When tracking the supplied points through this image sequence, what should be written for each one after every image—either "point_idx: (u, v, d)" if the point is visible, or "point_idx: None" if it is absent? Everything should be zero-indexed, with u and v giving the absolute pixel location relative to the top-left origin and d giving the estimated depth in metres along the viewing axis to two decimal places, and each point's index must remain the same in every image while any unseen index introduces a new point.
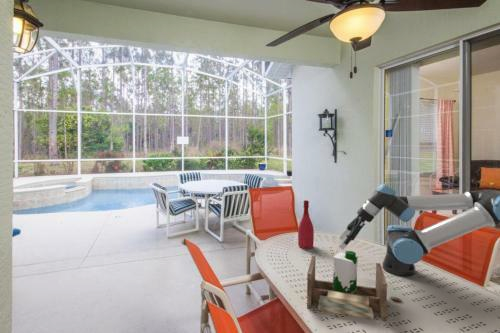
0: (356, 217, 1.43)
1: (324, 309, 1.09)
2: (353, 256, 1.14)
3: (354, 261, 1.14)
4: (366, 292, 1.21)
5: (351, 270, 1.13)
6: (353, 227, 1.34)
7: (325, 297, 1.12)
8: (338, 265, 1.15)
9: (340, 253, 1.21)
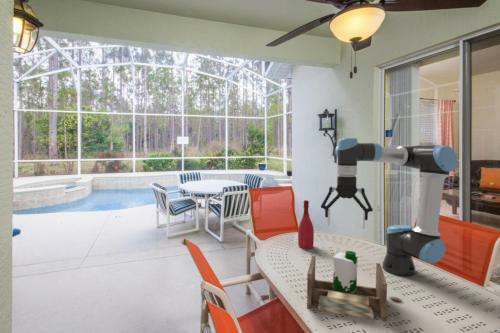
0: (331, 191, 1.17)
1: (324, 309, 1.09)
2: (353, 256, 1.14)
3: (354, 261, 1.14)
4: (366, 292, 1.21)
5: (351, 270, 1.13)
6: (357, 200, 1.14)
7: (325, 297, 1.12)
8: (338, 265, 1.15)
9: (340, 253, 1.21)
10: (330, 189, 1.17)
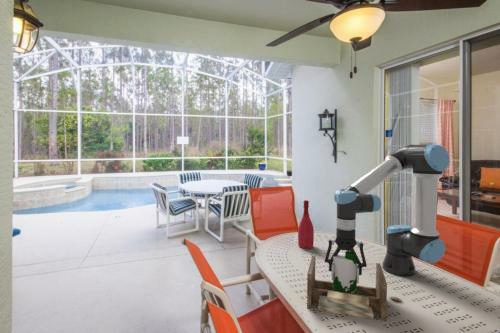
0: (331, 245, 1.18)
1: (324, 309, 1.09)
2: (353, 256, 1.14)
3: (354, 261, 1.14)
4: (366, 292, 1.21)
5: (351, 270, 1.13)
6: None
7: (325, 297, 1.12)
8: (338, 265, 1.15)
9: (340, 253, 1.21)
10: (329, 242, 1.18)
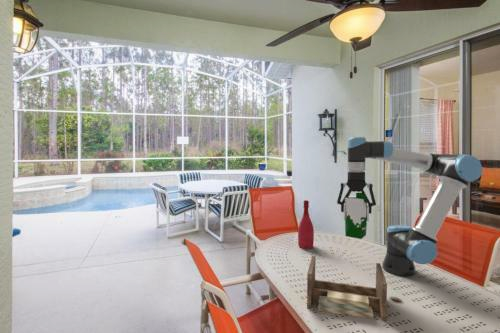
0: (343, 187, 1.29)
1: (324, 309, 1.09)
2: (363, 195, 1.25)
3: (364, 200, 1.25)
4: (366, 292, 1.21)
5: (362, 208, 1.24)
6: None
7: (325, 297, 1.12)
8: (350, 204, 1.26)
9: (351, 196, 1.32)
10: (341, 185, 1.29)
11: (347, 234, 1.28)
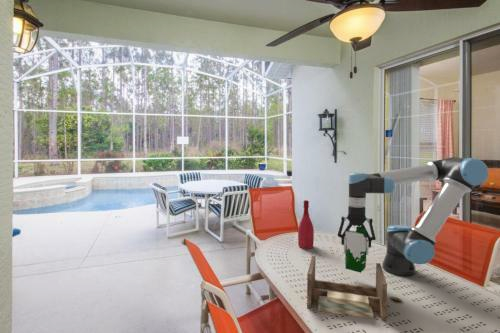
0: (343, 221, 1.32)
1: (324, 310, 1.09)
2: (363, 230, 1.29)
3: (364, 235, 1.28)
4: (366, 292, 1.21)
5: (362, 243, 1.28)
6: None
7: (325, 297, 1.12)
8: (350, 238, 1.29)
9: (351, 229, 1.35)
10: (342, 219, 1.32)
11: (347, 267, 1.32)
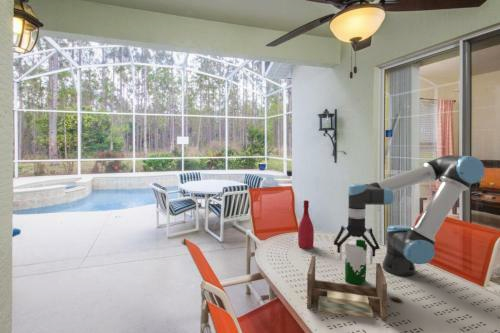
0: (342, 230, 1.32)
1: (324, 310, 1.09)
2: (363, 244, 1.29)
3: (364, 248, 1.29)
4: (366, 292, 1.21)
5: (361, 256, 1.28)
6: (365, 239, 1.30)
7: (324, 297, 1.12)
8: (350, 251, 1.30)
9: (351, 241, 1.36)
10: (342, 228, 1.32)
11: (347, 280, 1.32)
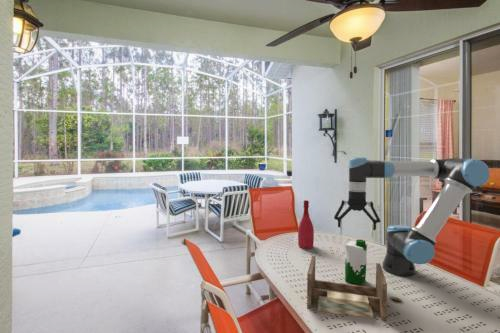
0: (343, 204, 1.32)
1: (324, 310, 1.09)
2: (363, 244, 1.29)
3: (364, 248, 1.29)
4: (366, 292, 1.21)
5: (361, 256, 1.28)
6: (366, 212, 1.29)
7: (324, 298, 1.12)
8: (350, 251, 1.30)
9: (351, 241, 1.36)
10: (342, 202, 1.32)
11: (347, 280, 1.32)
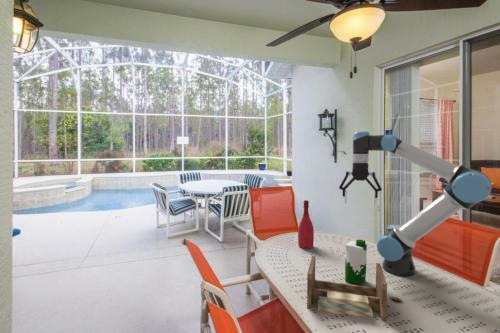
0: (347, 175, 1.43)
1: (324, 310, 1.09)
2: (363, 244, 1.29)
3: (364, 248, 1.29)
4: (366, 292, 1.21)
5: (361, 256, 1.28)
6: (369, 182, 1.41)
7: (324, 298, 1.12)
8: (350, 251, 1.30)
9: (351, 241, 1.36)
10: (347, 173, 1.43)
11: (347, 280, 1.32)
